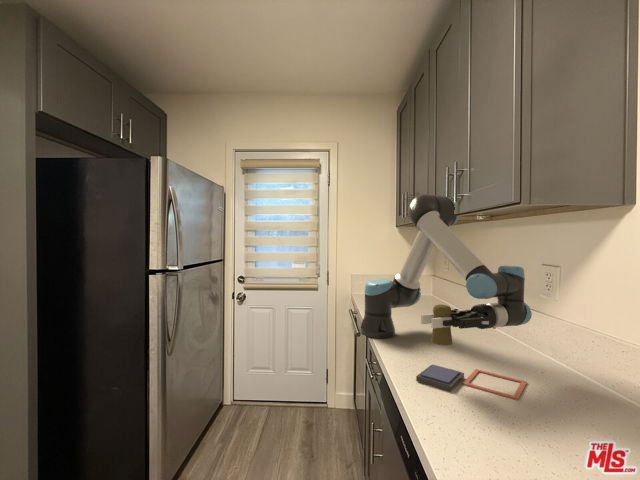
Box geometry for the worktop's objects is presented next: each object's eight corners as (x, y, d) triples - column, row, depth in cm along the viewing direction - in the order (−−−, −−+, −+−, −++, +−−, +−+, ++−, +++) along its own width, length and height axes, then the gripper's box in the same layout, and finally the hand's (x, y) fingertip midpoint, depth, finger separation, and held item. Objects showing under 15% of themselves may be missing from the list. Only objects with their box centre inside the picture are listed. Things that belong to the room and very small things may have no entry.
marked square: (475, 370, 107) (475, 368, 107) (526, 382, 98) (526, 381, 98) (462, 384, 96) (462, 383, 96) (518, 400, 87) (518, 398, 87)
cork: (454, 345, 95) (455, 307, 95) (432, 344, 96) (433, 306, 96) (450, 339, 101) (451, 303, 101) (429, 338, 102) (430, 302, 102)
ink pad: (431, 369, 107) (431, 362, 107) (464, 378, 100) (464, 371, 100) (416, 381, 97) (416, 374, 97) (450, 391, 91) (451, 384, 91)
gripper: (511, 335, 97) (447, 343, 89) (466, 321, 113) (409, 326, 105) (512, 309, 97) (448, 315, 89) (467, 299, 113) (409, 302, 105)
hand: (427, 321), depth 97 cm, fingers closed on cork, 4 cm apart
